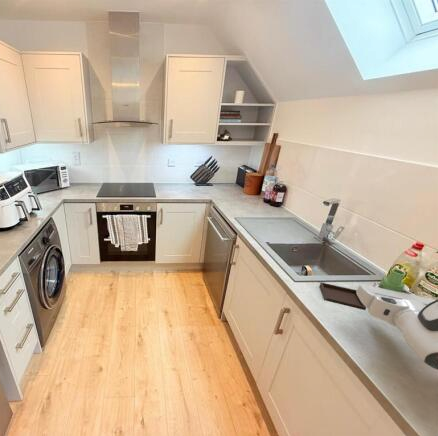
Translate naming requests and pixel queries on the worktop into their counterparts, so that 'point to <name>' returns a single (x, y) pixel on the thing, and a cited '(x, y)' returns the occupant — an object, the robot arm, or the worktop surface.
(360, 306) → the tray
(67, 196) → the worktop surface
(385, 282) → the soap bottle
